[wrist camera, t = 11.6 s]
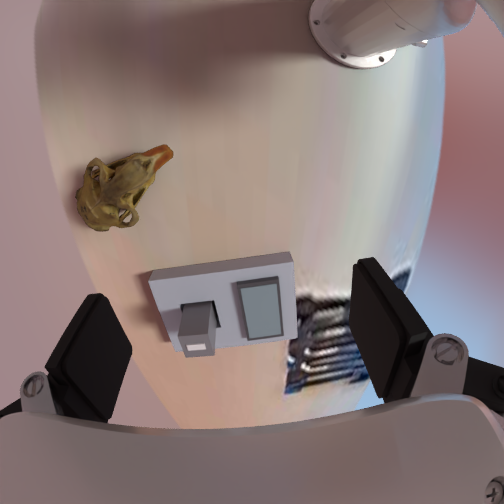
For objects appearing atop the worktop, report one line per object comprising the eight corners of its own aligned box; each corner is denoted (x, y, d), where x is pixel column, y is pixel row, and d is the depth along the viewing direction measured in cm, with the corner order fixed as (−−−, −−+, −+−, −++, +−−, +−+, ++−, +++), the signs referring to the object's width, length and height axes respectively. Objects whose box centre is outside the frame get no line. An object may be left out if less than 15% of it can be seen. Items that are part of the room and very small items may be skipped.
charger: (212, 293, 42) (207, 335, 34) (217, 313, 44) (214, 356, 36) (186, 296, 42) (177, 337, 34) (192, 316, 44) (185, 358, 36)
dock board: (289, 251, 40) (294, 265, 36) (294, 325, 46) (298, 342, 43) (153, 270, 40) (146, 285, 37) (178, 339, 46) (174, 355, 43)
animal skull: (211, 157, 31) (167, 208, 24) (140, 208, 40) (102, 254, 33) (160, 96, 26) (100, 131, 20) (100, 163, 36) (54, 204, 29)
